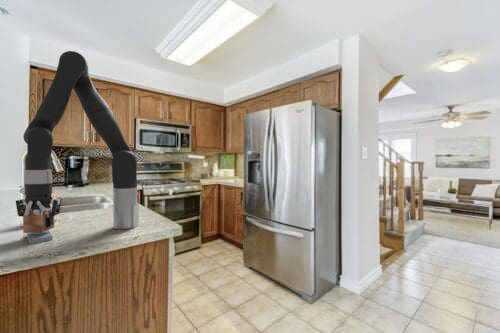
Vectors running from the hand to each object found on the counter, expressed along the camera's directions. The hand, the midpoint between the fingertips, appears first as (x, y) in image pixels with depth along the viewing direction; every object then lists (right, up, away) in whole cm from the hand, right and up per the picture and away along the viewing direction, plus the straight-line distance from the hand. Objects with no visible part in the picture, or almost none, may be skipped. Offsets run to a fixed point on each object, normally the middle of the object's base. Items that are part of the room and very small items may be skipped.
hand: (39, 227), depth 84 cm
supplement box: (-15, -4, +19) cm, 25 cm away
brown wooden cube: (0, -1, 0) cm, 1 cm away
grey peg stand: (0, -4, 0) cm, 4 cm away
